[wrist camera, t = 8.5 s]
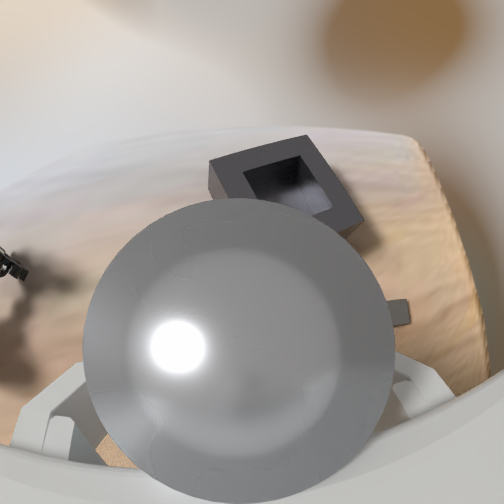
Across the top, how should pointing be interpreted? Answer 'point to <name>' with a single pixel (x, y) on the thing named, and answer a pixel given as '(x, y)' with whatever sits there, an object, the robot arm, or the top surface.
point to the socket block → (286, 181)
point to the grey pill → (238, 351)
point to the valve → (11, 266)
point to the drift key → (399, 311)
